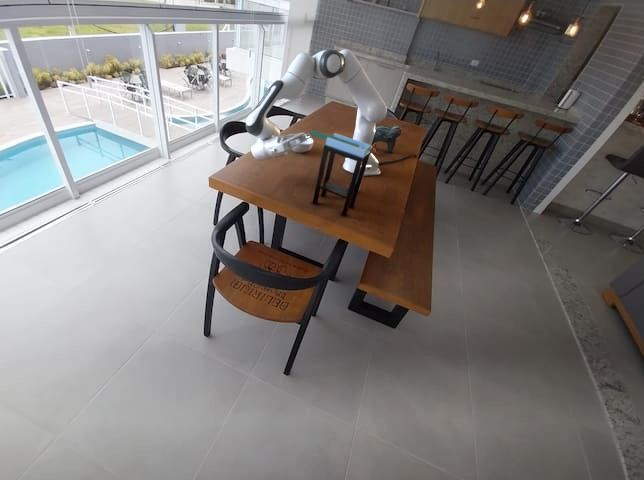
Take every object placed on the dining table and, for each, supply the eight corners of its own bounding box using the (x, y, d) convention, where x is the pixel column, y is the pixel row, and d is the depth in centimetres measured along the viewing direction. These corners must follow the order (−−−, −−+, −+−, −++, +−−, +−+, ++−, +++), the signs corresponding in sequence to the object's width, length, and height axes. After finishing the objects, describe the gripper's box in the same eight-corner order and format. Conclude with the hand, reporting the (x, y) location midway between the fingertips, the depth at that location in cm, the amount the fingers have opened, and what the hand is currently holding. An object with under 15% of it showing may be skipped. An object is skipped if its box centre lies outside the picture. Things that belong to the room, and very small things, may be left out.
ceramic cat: (393, 151, 210) (404, 121, 197) (394, 155, 206) (405, 124, 192) (365, 146, 210) (374, 115, 197) (365, 149, 205) (375, 118, 192)
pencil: (310, 134, 130) (310, 130, 129) (312, 133, 131) (313, 129, 130) (361, 151, 123) (362, 148, 122) (363, 150, 124) (364, 147, 124)
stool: (312, 203, 143) (323, 145, 125) (322, 194, 150) (334, 139, 132) (345, 216, 138) (361, 159, 120) (353, 207, 146) (370, 151, 128)
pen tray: (325, 144, 126) (327, 137, 124) (333, 140, 131) (334, 133, 129) (363, 157, 121) (365, 150, 119) (369, 152, 126) (371, 145, 124)
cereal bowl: (309, 158, 182) (311, 146, 177) (282, 152, 182) (283, 140, 178) (313, 148, 194) (315, 136, 189) (288, 142, 195) (289, 131, 190)
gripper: (265, 144, 133) (290, 136, 125) (289, 133, 147) (313, 125, 139) (270, 159, 135) (295, 152, 127) (293, 147, 149) (317, 140, 141)
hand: (305, 138), depth 133 cm, fingers open, 8 cm apart
